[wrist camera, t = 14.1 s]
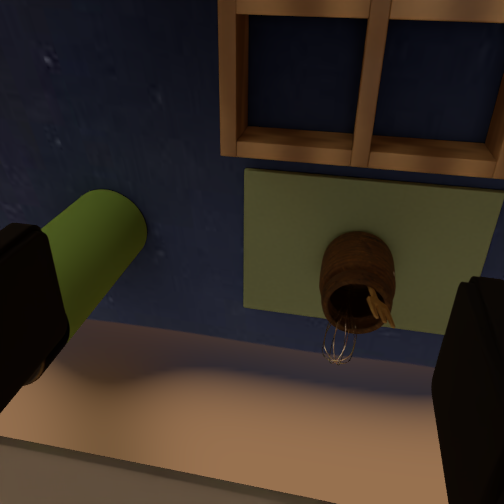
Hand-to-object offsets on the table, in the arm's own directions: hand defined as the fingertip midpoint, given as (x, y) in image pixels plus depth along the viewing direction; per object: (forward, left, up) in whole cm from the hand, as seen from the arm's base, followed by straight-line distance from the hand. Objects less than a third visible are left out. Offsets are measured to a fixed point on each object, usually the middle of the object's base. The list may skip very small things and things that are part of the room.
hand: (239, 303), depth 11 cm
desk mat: (+11, -11, -28) cm, 32 cm away
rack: (+3, +1, -28) cm, 28 cm away
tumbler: (-9, -22, -28) cm, 37 cm away
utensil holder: (+11, -11, -28) cm, 32 cm away
